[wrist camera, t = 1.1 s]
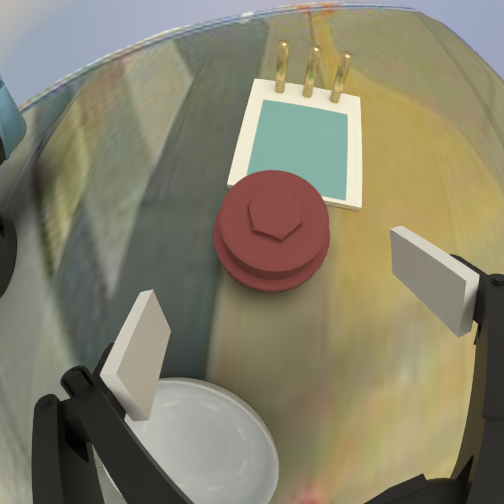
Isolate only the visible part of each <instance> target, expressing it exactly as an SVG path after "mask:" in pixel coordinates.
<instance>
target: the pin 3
mask: <svg viewBox="0 0 504 504" xmlns="http://www.w3.org/2000/svg"><path fill="white" fill-rule="evenodd" d="M352 58H353V54H352V53H350V52H347V51H344V52H342V56H341V59H340V63H339V67H338V70H337V74H336V78H335V81H334V85H333V88H332V92H331V95H330V99H329V100H330V101H331V102H332V103H335V104H336V103H338V102H339V99H340V96H341V93H342V90H343V87H344V84H345V80H346V77H347V74H348V71H349V68H350V64H351V61H352Z"/></svg>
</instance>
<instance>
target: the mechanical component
mask: <svg viewBox="0 0 504 504" xmlns="http://www.w3.org/2000/svg"><path fill="white" fill-rule="evenodd" d="M213 238H214V245H215V249H216V252H217V255H218V257H219V259H220V262H221V264H222V265H223V267H224V268H225V270H226V271H227V272H228V273H229V274H230V275H231V276H232V277H233V278H234V279H235V280H236V281H238V282H239V283H241V284H242V285H244V286H246V287H248V288H251V289H253V290H257V291H261V292H282V291H287V290H290V289H293V288H295V287H297V286H300V285H301V284H303V283H304V282H306V281H307V280H308V279H309V278H310V277H312V276H313V275H314V273H315V272H316V271H317V270H318V269H319V268H320V266H321V264H322V263H323V261H324V259H325V257H326V255H327V251H328V248H329V241H330V231H329V217H328V211H327V208H326V205H325V202H324V200H323V198H322V197H321V195H320V194H319V192H318V191H317V190H316V189H315V188H314V187H313V186H312V185H311V184H310V183H309V182H308V181H306V180H305V179H303V178H301V177H300V176H298V175H295V174H293V173H290V172H286V171H280V170H265V171H259V172H256V173H252V174H250V175H248V176H246V177H244V178H242V179H241V180H239V181H238V182H237V183H236V184H235V185H234V186H232V187H231V189H230V190H229V191H228V193H227V194H226V196H225V198H224V200H223V202H222V205H221V208H220V209H219V211H218V214H217V216H216V219H215V223H214V230H213Z"/></svg>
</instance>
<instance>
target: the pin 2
mask: <svg viewBox="0 0 504 504" xmlns="http://www.w3.org/2000/svg"><path fill="white" fill-rule="evenodd" d="M321 51H322V48H321V47H320V46H318V45H312V46H311V48H310V54H309V60H308V65H307V71H306V76H305V82H304V87H303V93H302V95H303V96H304V97H305V98H311V97H312V93H313V88H314V84H315V79H316V74H317V70H318V65H319V60H320V56H321Z"/></svg>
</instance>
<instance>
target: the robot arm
mask: <svg viewBox="0 0 504 504" xmlns="http://www.w3.org/2000/svg"><path fill="white" fill-rule="evenodd" d="M25 134H26V122H25V120H24V118H23V117H22V115H21V113H20V111H19V109H18V108H17V106H16V104H15V102H14V100H13V99H12V97H11V95H10V93H9V91H8V90H7V88H6V86H5V84H4V82H3V80H2V79H1V77H0V165H1V164H2V163H3V162H4V161H5V160H8V158H9V156H10V154H11V153H12V151H13V150H14V149H15V148H16V147H17V146H18V144H19V143H20V142H21V141H22V140H23V138H24V136H25ZM390 238H391V252H392V272H393V274H394V275H395V276H396V277H397V278H398V279H399V280H400V281H401V282H402V283H403V284H404V285H406V286H407V287H408V288H409V289H410V290H411V291H412V292H413V293H414V294H415V295H416V296H417V297H418V298H419V299H420V300H421V301H422V302H423V303H424V304H425V305H426V306H427V307H428V308H429V309H430V310H431V311H432V312H433V313H434V314H435V315H436V316H437V317H438V318H439V319H440V320H441V321H442V322H443V323H444V324H445V325H446V326H447V327H448V328H449V329H450V330H451V331H452V332H453V333H454V334H455V335H456V336H457V337H460V336H462V335H464V334H466V333H468V332H470V331H471V328H472V323H473V320H474V321H475V322H476V323H478V327H477V332H476V337H475V341H474V345H476V353H475V365H474V375H473V383H472V391H471V397H470V404H469V410H468V415H467V421H466V426H465V430H464V435H463V439H462V443H461V448H460V452H459V455H458V459H457V462H456V465H455V468H454V470H453V472H452V474H451V477H450V478H436V479H429V480H426V478H425V476H424V474H420V475H418V476H416V477H414V478H412V479H409V480H407V481H405V482H402V483H400V484H398V485H395V486H393V487H390V488H389V489H387V490H385V491H384V492H382V493H381V494H379V495H378V496H376V497H374V498H373V499H371V500H369V501H368V502H366V503H364V504H504V275H503V274H491V275H487V274H486V273H484V272H483V271H481V270H480V269H478V268H477V267H475V266H474V265H473V266H472V264H471V263H469V262H467V261H466V260H464V259H463V258H461V257H459V256H456V255H453V254H450V255H449V254H447V253H446V252H444V251H442V250H441V249H439V248H438V247H436V246H434V245H433V244H431V243H430V242H428V241H426V240H425V239H423V238H421V237H420V236H418V235H416V234H415V233H413V232H411V231H410V230H408V229H406V228H404V227H403V226H398V227H395V228H391V229H390ZM15 258H16V234H15V229H14V226H13V224H12V222H11V220H10V219H9V218H8V217H7V216H6V215H4V214H2V213H1V212H0V297H1V295H2V294H3V292H4V291H5V289H6V287H7V285H8V283H9V280H10V278H11V275H12V272H13V268H14V264H15ZM170 333H171V330H170V328H169V325H168V323H167V321H166V319H165V316H164V314H163V312H162V310H161V307H160V305H159V303H158V300H157V298H156V296H155V293H154V291H153V290H149V291H145V292H140V294H139V296H138V298H137V300H136V302H135V304H134V306H133V308H132V310H131V312H130V313H129V315H128V317H127V319H126V321H125V323H124V325H123V327H122V329H121V331H120V333H119V335H118V337H117V339H116V341H115V343H111V344H110V345H109V346H108V347H107V348H106V349H105V350H104V352H103V354H102V356H101V359H100V360H99V362H98V365H97V366H96V368H95V370H94V372H93V374H92V375H91V374H90V372H89V371H88V369H87V368H86V367H85V366H75V367H73V368H71V369H70V370H68V371H67V372H66V373H65V374H64V375H63V376H62V378H61V385H62V387H63V388H64V389H65V391H66V392H67V393H68V395H69V396H70V397H71V398H70V399H67V400H64V401H61V402H60V400H59V399H58V398H57V396H55V395H54V394H48V395H45V396H44V397H41V399H39V400H38V402H37V403H36V405H35V408H34V418H33V433H32V493H33V504H105V503H104V499H103V495H102V492H101V487H100V483H99V479H98V474H97V470H96V465H95V460H94V455H93V449H92V444H93V446H94V448H95V450H96V452H97V454H98V456H99V457H100V459H101V461H102V463H103V465H104V466H105V468H106V470H107V472H108V473H109V475H110V477H111V478H112V480H113V482H114V483H115V485H116V487H117V488H118V490H119V491H120V493H121V495H122V496H123V498H124V499H125V501H126V502H127V504H194V503H193V502H192V501H191V500H190V499H189V497H188V496H187V495H186V494H185V493H184V492H183V491H182V490H181V489H180V488H179V487H178V486H177V485H176V484H175V483H174V481H173V480H172V479H171V478H170V477H169V476H168V475H167V474H166V472H165V471H164V470H163V469H162V468H161V467H160V465H159V464H158V463H157V462H156V461H155V459H154V458H153V457H152V456H151V454H150V453H149V452H148V451H147V449H146V448H145V447H144V446H143V444H142V443H141V442H140V440H139V439H138V438H137V436H136V435H135V434H134V432H133V431H132V430H131V428H130V427H129V425H128V424H127V423H126V422H125V420H124V419H125V416H126V413H127V414H128V416H129V417H130V418H131V420H132V421H133V422H135V421H149V418H150V413H151V409H152V404H153V400H154V396H155V392H156V387H157V383H158V379H159V375H160V371H161V367H162V363H163V359H164V355H165V352H166V348H167V344H168V340H169V336H170ZM91 442H92V443H91Z"/></svg>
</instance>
